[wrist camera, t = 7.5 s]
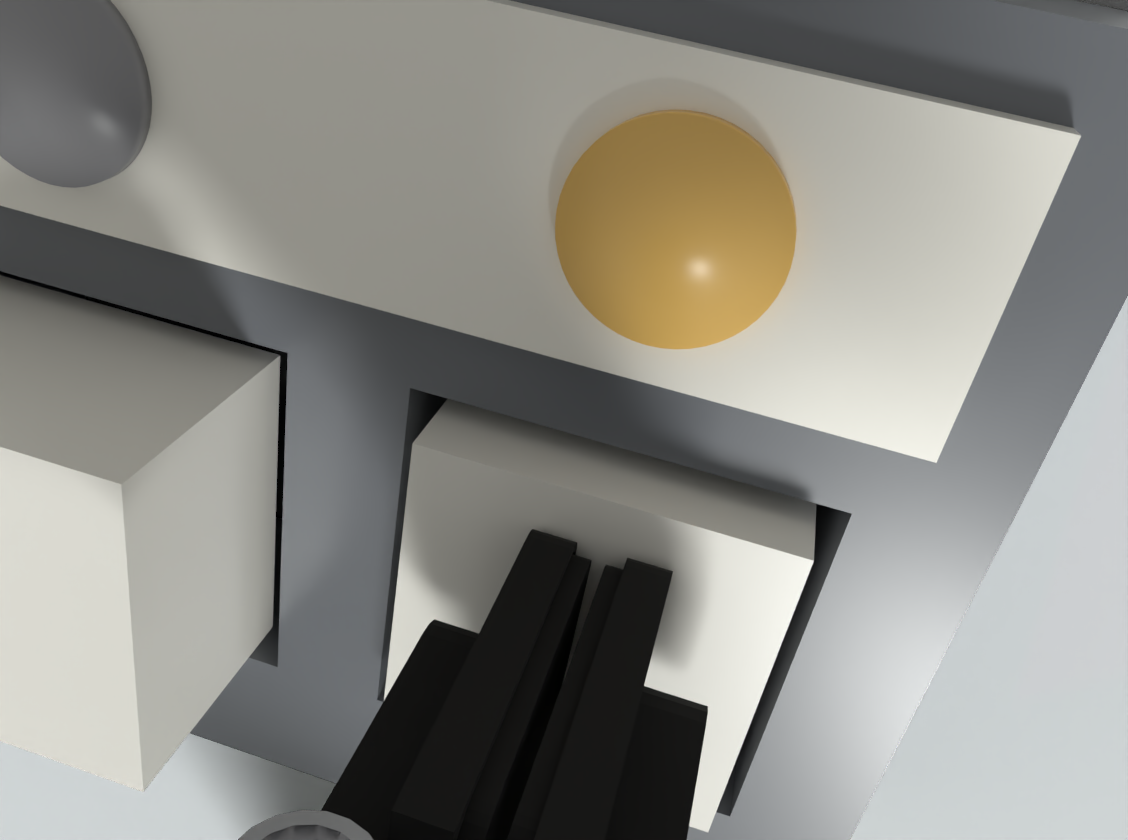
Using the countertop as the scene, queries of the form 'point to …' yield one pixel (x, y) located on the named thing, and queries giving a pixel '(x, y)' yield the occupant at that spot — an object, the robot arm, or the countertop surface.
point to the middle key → (127, 527)
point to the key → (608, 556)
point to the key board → (608, 290)
